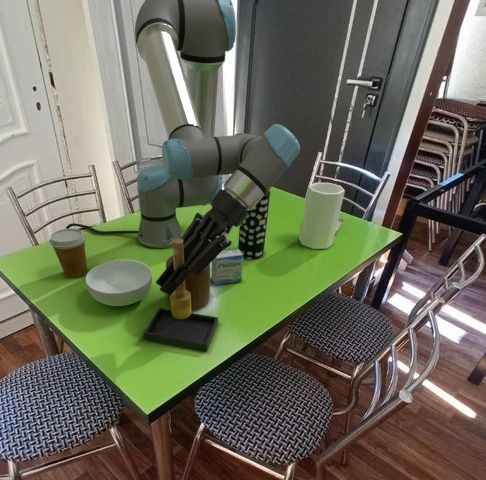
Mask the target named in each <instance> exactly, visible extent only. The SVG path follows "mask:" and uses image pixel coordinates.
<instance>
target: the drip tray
mask: <svg viewBox="0 0 486 480" xmlns="http://www.w3.org/2000/svg"><path fill="white" fill-rule="evenodd" d="M218 325H219V317H217V316H211V315H206V314H205V315H204V314H200V313H193V312H191V315H190V316H189V317H187V318H185V319H177V318H175V317H173V316H172V314H171V308H164V307H159V308H158V309H157V310H156V312H155V314H154V316H153V317H152V319H151V320H150V322H149V323H148V325H147V326H146V328H145V330H144V331H143V338H144V340H145V341H150V342H155V343H160V344H166V345H171V346H177V347H181V348H186V349H192V350H196V351H201V352H208V351H209V348H210V346H211V343H212V340H213V338H214V335H215V333H216V330H217V327H218Z"/></svg>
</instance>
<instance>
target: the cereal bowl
mask: <svg viewBox="0 0 486 480" xmlns="http://www.w3.org/2000/svg"><path fill="white" fill-rule="evenodd" d="M85 285H86V288H87V291H88V293H90V296H91V297H92V298H93V299H94V300H95V301H97V302H99V303H100V304H103V305H106V306H110V307H123V306H129V305H130V306H131V305H132V304H135V303H138V302H139V301H142V299H144V298H145V297H146V296H147V295H148V294H149V292H150V291H151V288H152V285H153V272H152V269H151V268H150V267H149V266H148V264H146V263H144V262H142V261H138V260H134V259H125V258H123V259H113V260H108V261H104V262H102V263H99V264H98V265H95V266H94V267H92V268H91V269H90V270H89V271H87V273H86V275H85Z"/></svg>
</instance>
